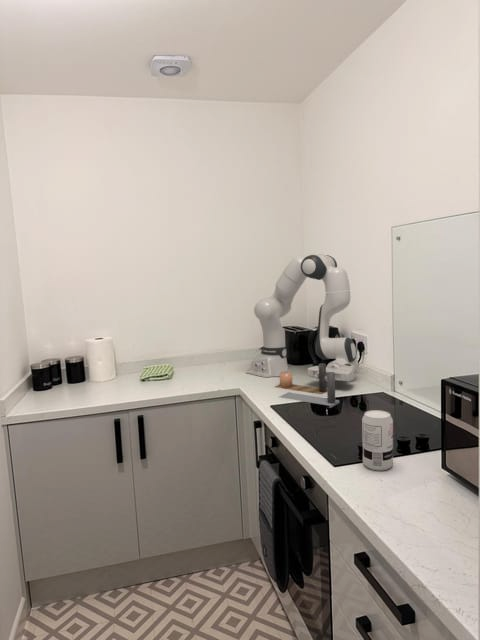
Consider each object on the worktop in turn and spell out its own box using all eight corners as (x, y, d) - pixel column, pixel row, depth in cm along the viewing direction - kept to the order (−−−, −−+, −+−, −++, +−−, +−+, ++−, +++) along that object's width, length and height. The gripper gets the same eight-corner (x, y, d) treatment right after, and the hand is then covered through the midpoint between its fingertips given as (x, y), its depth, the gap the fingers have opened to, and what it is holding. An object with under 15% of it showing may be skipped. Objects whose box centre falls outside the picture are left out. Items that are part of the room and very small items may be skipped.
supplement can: (358, 460, 142) (358, 410, 140) (386, 458, 143) (386, 408, 141) (368, 472, 134) (367, 419, 132) (397, 470, 135) (397, 417, 133)
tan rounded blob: (277, 386, 220) (277, 373, 220) (284, 383, 225) (283, 371, 224) (288, 388, 217) (287, 375, 216) (294, 385, 221) (294, 372, 221)
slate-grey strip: (278, 399, 205) (277, 368, 203) (288, 394, 211) (287, 365, 209) (330, 408, 190) (329, 375, 188) (339, 402, 196) (338, 371, 195)
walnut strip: (274, 389, 220) (273, 360, 219) (283, 384, 227) (282, 357, 225) (321, 396, 206) (320, 366, 204) (330, 391, 212) (329, 362, 210)
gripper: (315, 361, 225) (300, 367, 214) (357, 366, 212) (343, 372, 201) (315, 374, 226) (300, 381, 215) (357, 380, 213) (343, 387, 202)
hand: (321, 377), depth 208 cm, fingers closed on walnut strip, 3 cm apart
